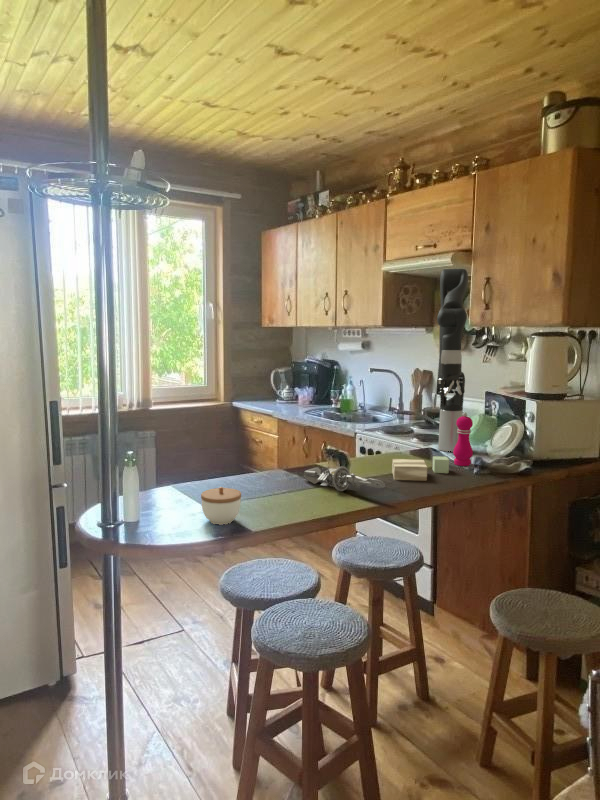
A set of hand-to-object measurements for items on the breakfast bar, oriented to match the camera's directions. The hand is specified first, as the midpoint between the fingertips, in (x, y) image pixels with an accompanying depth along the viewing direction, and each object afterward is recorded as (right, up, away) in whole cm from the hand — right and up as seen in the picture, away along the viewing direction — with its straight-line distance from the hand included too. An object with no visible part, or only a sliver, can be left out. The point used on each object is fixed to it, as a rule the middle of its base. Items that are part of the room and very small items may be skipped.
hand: (450, 405), depth 225 cm
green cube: (-6, -24, -8) cm, 26 cm away
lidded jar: (-78, -31, -63) cm, 105 cm away
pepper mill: (+5, -23, +3) cm, 23 cm away
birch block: (-18, -25, -15) cm, 34 cm away
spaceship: (-43, -27, -34) cm, 61 cm away
